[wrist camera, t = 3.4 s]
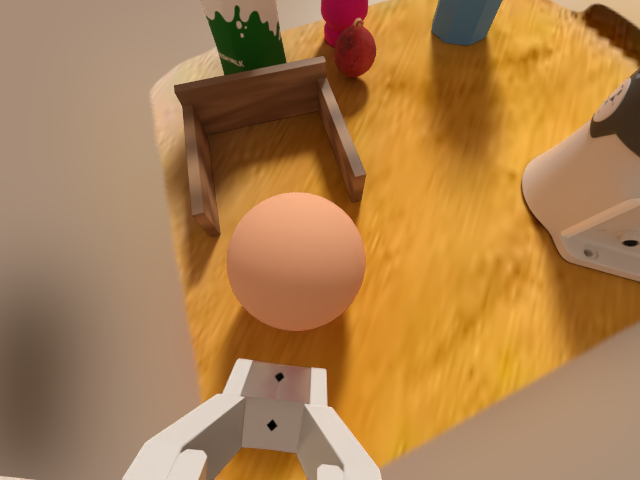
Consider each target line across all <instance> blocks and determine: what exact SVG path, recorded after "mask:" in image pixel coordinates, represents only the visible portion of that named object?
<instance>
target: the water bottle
mask: <svg viewBox="0 0 640 480" xmlns="http://www.w3.org/2000/svg"><path fill="white" fill-rule="evenodd" d="M501 2H502V0H439V1H438V5H437V8H436V12H435V15H434V19H433V24H432V31H431V32H432V33H434V34H435V35H436V36H437V37H439V38H440V39H441V40H443V41H444V42H445V43H451V44H459V45H467V46H469V45H471V44H473V43H475V42H478V41H480V40H482V39H484V38H485V37H486V35H487V33H488V31H489V28H490V26H491V24H492V22H493V20H494V18H495V15H496V13H497V11H498V9H499V7H500V4H501Z"/></svg>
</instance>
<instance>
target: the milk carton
mask: <svg viewBox="0 0 640 480" xmlns="http://www.w3.org/2000/svg"><path fill="white" fill-rule="evenodd" d="M201 2H202V5H203V8H204V11H205V14H206V17H207V20H208V23H209V26H210V28H211V31H212V34H213V37H214V40H215V43H216V46H217V49H218V53H219V56H220V60H221V64H222V67H223V71H224V75H229V74H234V73H239V72H244V71H250V70H255V69H260V68H265V67H270V66H275V65H280V64H285V63H286V58H285V53H284V48H283V43H282V38H281V33H280V27H279V19H278V12H277V5H276V0H201Z"/></svg>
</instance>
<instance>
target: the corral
mask: <svg viewBox="0 0 640 480" xmlns="http://www.w3.org/2000/svg"><path fill="white" fill-rule="evenodd" d="M174 91H175V94H176V96H177V98H178V99H179V101H180V103H181V105H182V108H183V120H184V131H185V142H186V154H187V165H188V177H189V188H190V199H191V211H192V216H193V217H194V218H195V219H196V221H197V222H198V223H199V224H200V225H201V227H202V228H203V229H204V230H205V231H206V232H207V234H208V235H209V236H210V237H211V236H215V235H219V234H220V227H219V219H218V212H217V204H216V197H215V189H214V181H213V174H212V166H211V159H210V151H209V143H208V136H207V135H208V134H212V133H217V132H222V131H226V130H231V129H236V128H241V127H245V126H250V125H255V124H259V123H264V122H269V121H273V120H278V119H283V118H287V117H292V116H297V115H301V114H306V113H311V112H315V111H319V113H320V116H321V119H322V122H323V124H324V127H325V130H326V133H327V135H328V138H329V141H330V143H331V146H332V149H333V152H334V154H335V157H336V160H337V163H338V165H339V168H340V171H341V174H342V176H343V179H344V182H345V185H346V187H347V190H348V193H349V196H350V198H351V201H352V202H355V201H359V200H362V194H363V188H364V183H365V177H366V173H365V170H364V168H363V166H362V163H361V161H360V158H359V156H358V153H357V151H356V148H355V146H354V144H353V141H352V139H351V136H350V134H349V131H348V129H347V126H346V124H345V121H344V119H343V117H342V114H341V112H340V109H339V107H338V104H337V102H336V99H335V97H334V95H333V92H332V90H331V87H330V85H329V82H328V80H327V77H326V60H325V58H324V56H320V57H315V58H310V59H305V60H300V61H295V62H290V63H285V64H280V65H275V66H270V67H265V68H260V69H255V70H250V71H244V72H239V73H234V74H229V75H224V76H219V77H214V78H209V79H204V80H199V81H194V82H189V83H184V84H179V85H174Z"/></svg>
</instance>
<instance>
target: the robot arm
mask: <svg viewBox="0 0 640 480" xmlns="http://www.w3.org/2000/svg"><path fill="white" fill-rule="evenodd" d="M522 189H523V194H524V197H525V200H526V202H527V204H528V206H529V208H530V210H531V211H532V213H533V214H534V215H535V217H536V218H537V219H538V220H539V221H540V222H541V224H542V225H543V226H544V227H545V228H546V229H547V230H548V231H549V233H550V234H551V236H552V238H553V241H554V243H555V245H556V248H557V250H558V252H559V253H560V255H561V256H562V257H563V258H564V259H565V260H566V261H568V262H571V263H574V264H577V265H581V266H585V267H588V268H592V269H596V270H599V271H603V272H606V273H610V274H614V275H617V276H621V277H625V278H628V279H632V280H636V281H639V282H640V68H639V69H638V70H637V71H636V72H634V73H633V74H632V75H631V76H630V77H629V78H627V79H626V80H624V81H623V82H622V83H621V84H620V85H619V86H618V87H617V88H616V89H615V90H614V91H613V92H612V93H611V94H610V95H609V96H608V98H607V99H606V100H605V101H604V102H603V103H602V104H601V105H600V107H599V108H598V109H597V111H596V112H595V113H594V115H593V117H592V118H591V119H590V120H589V121H588V122H587V123H585V124H584V125H583V126H582V127H580V128H579V129H578V130H576V131H575V132H574V133H573V134H571V135H570V136H569V137H567V138H566V139H564V140H563V141H562V142H560V143H559V144H557V145H556V146H554V147H553V148H551V149H549V150H548V151H546V152H544V153H542V154H540V155H538V156H537V157H535V158H534V159H533V160H532V161H531V162H530V163H529V164H528V165H527V167H526V169H525V171H524V174H523V178H522ZM584 253H586V255H587V256H586V255H585V254H584ZM241 447H245V448H258V449H269V450H276V451H283V452H290V453H297V457H298V459H299V461H300V464H301V466H302V468H303V471H304V473H305V475H306V478H307V480H382V479H381V474H380V469H379V468H378V467H377V465H376V464H375V463H374V461H373V460H372V459H371V457H370V456H369V455H368V454H367V452H366V451H365V450H364V448H363V447H362V446H361V444H360V443H359V442H358V440H357V439H356V438H355V437H354V435H353V434H352V433H351V431H350V430H349V429H348V427H347V426H346V425H345V423H344V422H343V421H342V420H341V418H340V417H339V416H338V414H337V413H336V412H335V410H334V409H333V408H332V407H328V404H327V370H326V369H324V368H313V367H311V368H309V367H300V366H291V365H283V364H277V363H270V362H263V361H257V360H248V359H241V358H238V360H237V361H236V363H235V365H234V367H233V370H232V372H231V374H230V377H229V379H228V381H227V383H226V386H225V388H224V390H223V393H222V394H216V395H215V396H213V397H212V398H210V399H209V400H207V401H206V402H204V403H203V404H201V405H200V406H198V407H197V408H195V409H194V410H192V411H191V412H190V413H188V414H187V415H185V416H184V417H183V418H181V419H179V420H178V421H176V422H175V423H173V424H172V425H170V426H169V427H167V428H166V429H164V430H163V431H161V432H160V433H159V434H157V435H156V436H154V437H153V438H151V439H150V440H148V441H147V442H145V444H144V445H143V447H142V449H141V450H140V452H139V453H138V455H137V457H136V458H135V460H134V461H133V463H132V464H131V466H130V467H129V469H128V471H127V472H126V474H125V475H124V477H123V478H122V480H213V479H214V478H215V477H216V476H217V475H218V474H219V473H220V471H221V470H222V469H223V468H224V467H225V466H226V465H227V464H228V463H229V461H230V460H231V459H232V458H233V457H234V456H235V455H236V454H237V453H238V451H239V450H240V449H241ZM0 480H31V479H22V478H13V477H3V476H0Z"/></svg>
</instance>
